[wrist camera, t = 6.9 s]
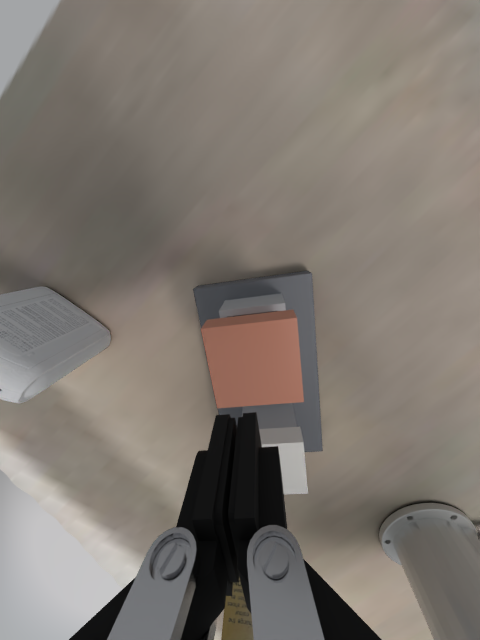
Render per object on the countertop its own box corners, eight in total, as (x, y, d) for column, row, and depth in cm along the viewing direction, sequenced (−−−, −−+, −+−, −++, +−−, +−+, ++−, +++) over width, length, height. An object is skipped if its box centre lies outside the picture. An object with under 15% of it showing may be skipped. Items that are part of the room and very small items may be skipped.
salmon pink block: (287, 297, 21) (297, 317, 16) (293, 362, 23) (303, 402, 18) (216, 306, 22) (200, 328, 17) (227, 368, 24) (217, 408, 18)
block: (308, 270, 26) (321, 279, 20) (318, 438, 32) (331, 481, 27) (197, 285, 27) (181, 297, 22) (229, 443, 34) (223, 484, 28)
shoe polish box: (230, 562, 42) (219, 683, 30) (230, 542, 40) (219, 662, 29) (259, 565, 41) (259, 689, 30) (261, 546, 40) (261, 669, 28)
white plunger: (294, 401, 28) (303, 442, 22) (299, 445, 30) (307, 493, 24) (239, 405, 29) (234, 445, 23) (247, 448, 31) (244, 495, 25)
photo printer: (29, 307, 30) (-121, 351, 18) (42, 279, 29) (-110, 306, 17) (103, 356, 31) (7, 426, 19) (118, 331, 30) (26, 390, 18)
